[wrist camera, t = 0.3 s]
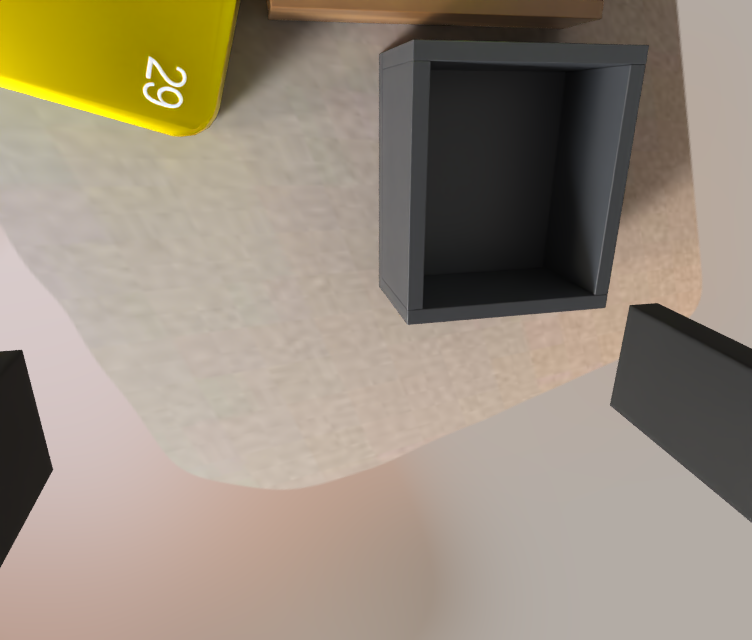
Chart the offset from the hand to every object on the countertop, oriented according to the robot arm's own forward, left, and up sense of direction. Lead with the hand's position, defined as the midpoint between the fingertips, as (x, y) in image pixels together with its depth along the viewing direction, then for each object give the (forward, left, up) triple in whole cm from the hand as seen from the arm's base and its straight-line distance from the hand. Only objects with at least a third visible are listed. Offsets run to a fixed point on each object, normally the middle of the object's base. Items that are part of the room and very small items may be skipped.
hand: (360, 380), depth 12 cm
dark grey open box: (-1, +14, -28) cm, 31 cm away
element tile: (-13, -9, -28) cm, 32 cm away
